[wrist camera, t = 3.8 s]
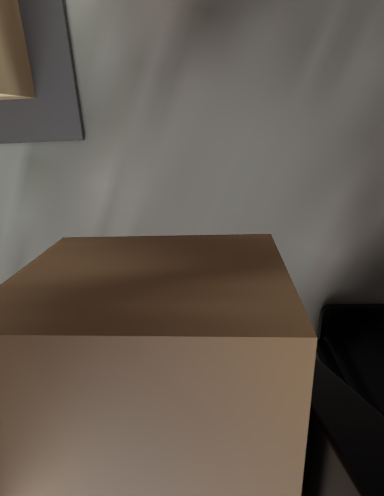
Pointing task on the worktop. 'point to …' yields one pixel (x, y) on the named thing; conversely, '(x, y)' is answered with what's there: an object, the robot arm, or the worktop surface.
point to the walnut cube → (154, 369)
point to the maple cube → (13, 55)
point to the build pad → (45, 80)
